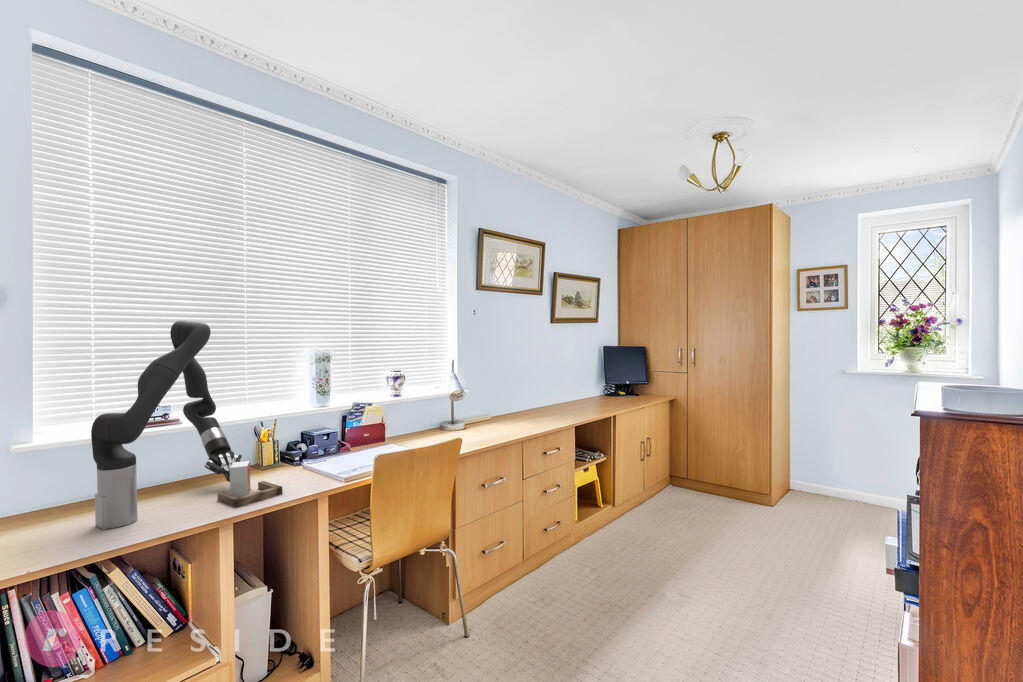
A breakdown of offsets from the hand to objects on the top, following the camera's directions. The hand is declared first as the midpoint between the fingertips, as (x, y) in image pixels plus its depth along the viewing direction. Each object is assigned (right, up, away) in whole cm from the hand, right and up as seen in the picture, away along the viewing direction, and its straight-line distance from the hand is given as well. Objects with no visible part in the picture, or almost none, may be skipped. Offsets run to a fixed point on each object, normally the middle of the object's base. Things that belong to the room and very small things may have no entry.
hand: (232, 480), depth 174 cm
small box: (+4, -4, -3) cm, 7 cm away
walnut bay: (+10, -4, -6) cm, 12 cm away
